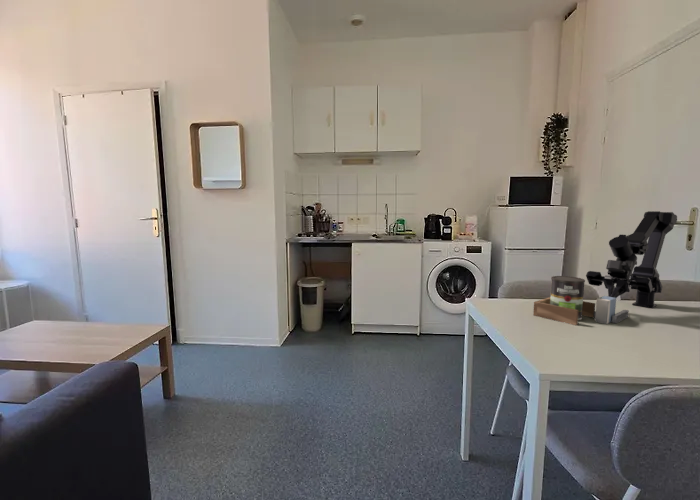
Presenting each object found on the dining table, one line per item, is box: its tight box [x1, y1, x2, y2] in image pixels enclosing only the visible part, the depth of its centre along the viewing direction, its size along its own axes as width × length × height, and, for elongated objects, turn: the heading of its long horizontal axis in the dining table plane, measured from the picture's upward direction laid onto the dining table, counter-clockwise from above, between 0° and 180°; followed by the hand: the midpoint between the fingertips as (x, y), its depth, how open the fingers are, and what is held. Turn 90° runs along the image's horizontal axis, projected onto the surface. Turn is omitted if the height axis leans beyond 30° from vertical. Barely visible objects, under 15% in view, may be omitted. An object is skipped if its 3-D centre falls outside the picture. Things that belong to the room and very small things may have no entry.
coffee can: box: [549, 275, 586, 321], centre depth 128 cm, size 10×10×14 cm
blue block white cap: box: [594, 295, 617, 325], centre depth 123 cm, size 7×4×8 cm, turn 126°
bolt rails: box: [592, 309, 630, 324], centre depth 126 cm, size 12×7×2 cm, turn 126°
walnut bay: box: [532, 296, 596, 326], centre depth 129 cm, size 15×14×5 cm
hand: (610, 300), depth 125 cm, fingers closed, pressing on blue block white cap
